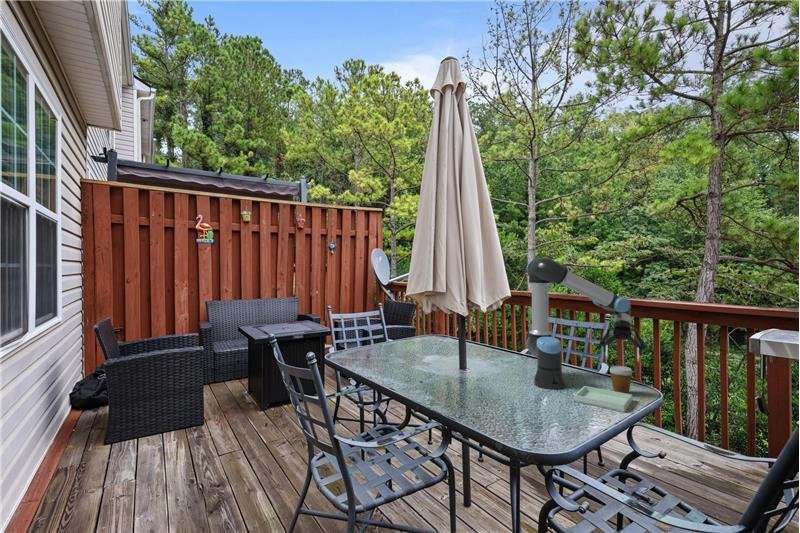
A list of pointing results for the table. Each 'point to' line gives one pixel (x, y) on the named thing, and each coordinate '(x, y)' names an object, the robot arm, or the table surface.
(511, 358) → the table surface
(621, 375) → the disposable coffee cup
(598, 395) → the sage tray
